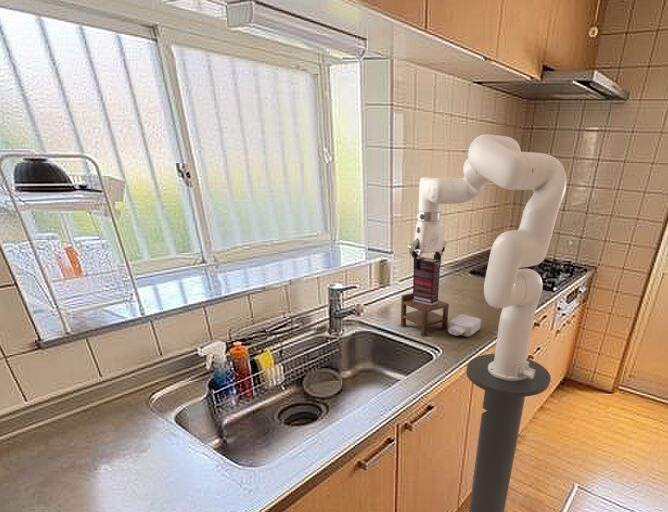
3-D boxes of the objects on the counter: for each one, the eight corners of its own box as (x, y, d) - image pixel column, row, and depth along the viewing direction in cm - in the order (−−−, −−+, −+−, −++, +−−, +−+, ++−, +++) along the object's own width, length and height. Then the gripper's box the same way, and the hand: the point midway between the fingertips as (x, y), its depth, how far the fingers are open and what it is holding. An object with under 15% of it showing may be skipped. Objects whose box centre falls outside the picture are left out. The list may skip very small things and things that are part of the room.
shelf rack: (446, 329, 159) (449, 298, 154) (423, 336, 151) (425, 304, 146) (423, 319, 167) (425, 290, 162) (400, 325, 159) (401, 295, 154)
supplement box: (438, 303, 155) (441, 259, 147) (431, 306, 151) (434, 262, 144) (418, 298, 158) (420, 255, 151) (411, 301, 155) (413, 258, 147)
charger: (439, 336, 152) (458, 324, 164) (462, 343, 148) (479, 330, 160) (440, 324, 150) (459, 313, 161) (463, 330, 146) (481, 318, 158)
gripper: (417, 220, 133) (416, 273, 141) (455, 217, 144) (451, 267, 152) (402, 217, 138) (401, 268, 146) (439, 214, 149) (437, 263, 157)
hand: (427, 267), depth 149 cm, fingers open, 9 cm apart
